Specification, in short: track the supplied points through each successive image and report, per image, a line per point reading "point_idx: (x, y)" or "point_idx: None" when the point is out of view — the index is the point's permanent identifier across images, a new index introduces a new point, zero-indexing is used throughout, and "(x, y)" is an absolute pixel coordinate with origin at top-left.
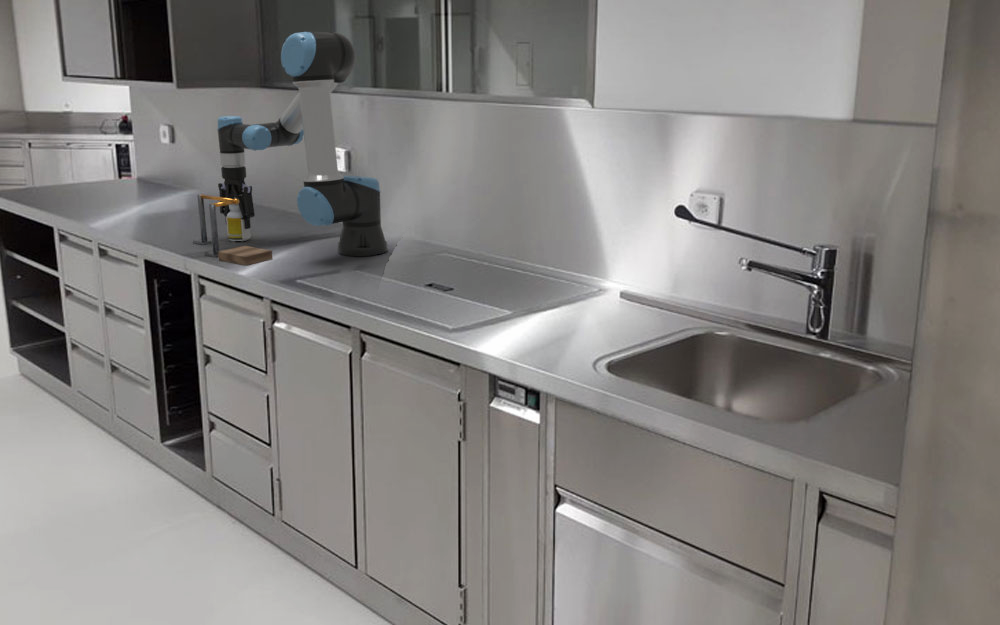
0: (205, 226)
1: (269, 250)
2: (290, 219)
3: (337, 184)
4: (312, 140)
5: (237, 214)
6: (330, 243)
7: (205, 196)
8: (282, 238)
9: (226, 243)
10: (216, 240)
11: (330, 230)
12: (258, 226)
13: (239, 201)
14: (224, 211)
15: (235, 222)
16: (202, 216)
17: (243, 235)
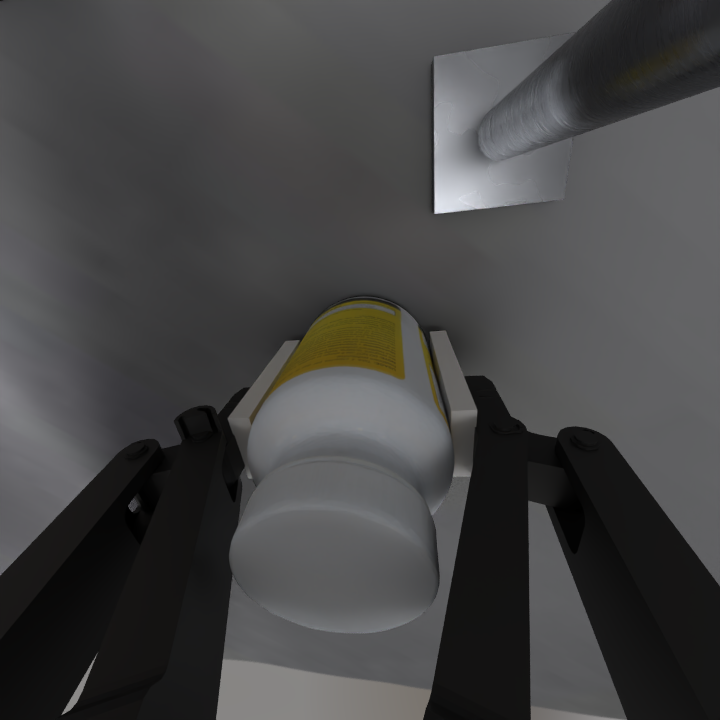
0: (521, 116)
1: None
2: (535, 669)
3: None
4: None
5: (259, 437)
6: (50, 518)
7: None
8: (248, 485)
9: (343, 242)
10: None
11: (261, 623)
12: (556, 571)
13: (128, 621)
14: (520, 450)
15: (288, 368)
16: (610, 5)
17: (279, 351)
